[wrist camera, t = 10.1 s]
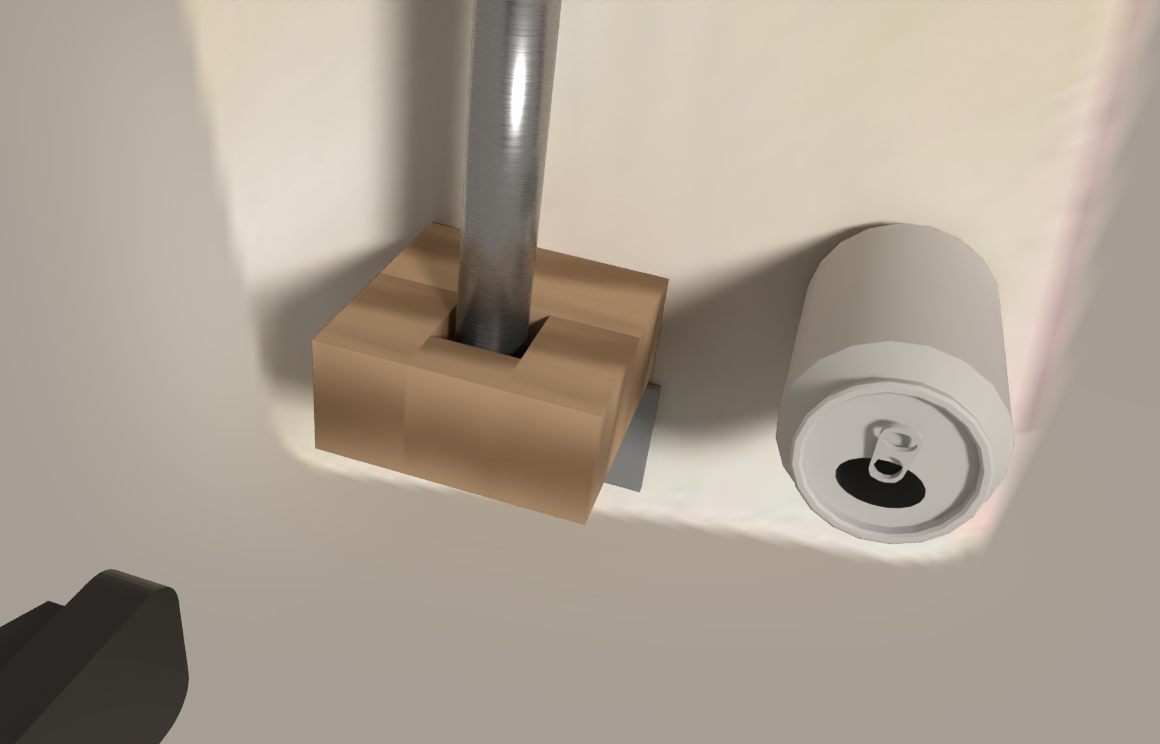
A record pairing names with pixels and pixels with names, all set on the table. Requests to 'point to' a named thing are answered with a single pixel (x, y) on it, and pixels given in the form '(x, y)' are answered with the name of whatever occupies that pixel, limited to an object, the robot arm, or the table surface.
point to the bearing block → (489, 378)
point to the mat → (635, 444)
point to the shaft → (504, 169)
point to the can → (898, 387)
